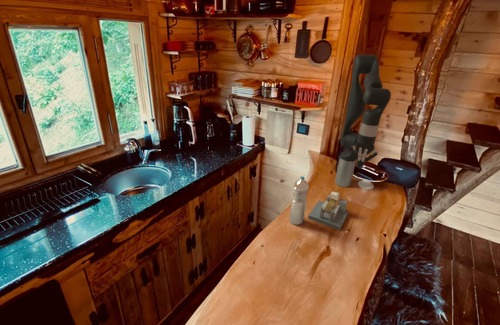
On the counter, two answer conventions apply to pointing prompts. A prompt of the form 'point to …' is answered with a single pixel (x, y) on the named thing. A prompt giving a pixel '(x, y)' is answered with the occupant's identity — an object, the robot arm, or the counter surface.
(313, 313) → the counter surface
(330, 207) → the tan flat bar
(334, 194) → the latch
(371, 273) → the counter surface
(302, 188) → the water bottle
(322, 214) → the clip base
